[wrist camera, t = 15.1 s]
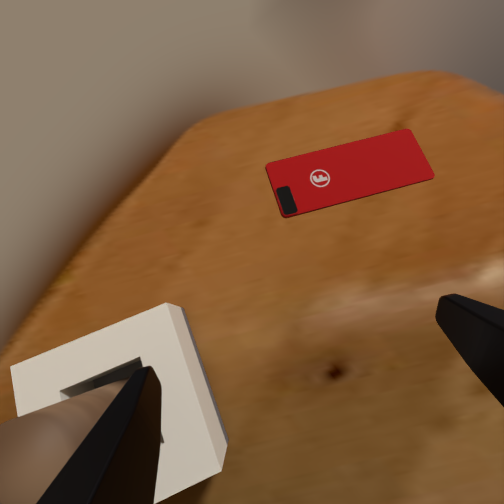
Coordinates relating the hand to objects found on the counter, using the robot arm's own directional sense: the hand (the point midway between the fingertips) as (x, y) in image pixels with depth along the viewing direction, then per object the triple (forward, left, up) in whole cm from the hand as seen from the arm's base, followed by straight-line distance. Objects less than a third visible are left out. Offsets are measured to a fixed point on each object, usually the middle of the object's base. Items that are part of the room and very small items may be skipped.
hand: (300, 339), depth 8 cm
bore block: (0, +11, -14) cm, 17 cm away
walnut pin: (0, +11, -13) cm, 17 cm away
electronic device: (+11, -13, -14) cm, 22 cm away
